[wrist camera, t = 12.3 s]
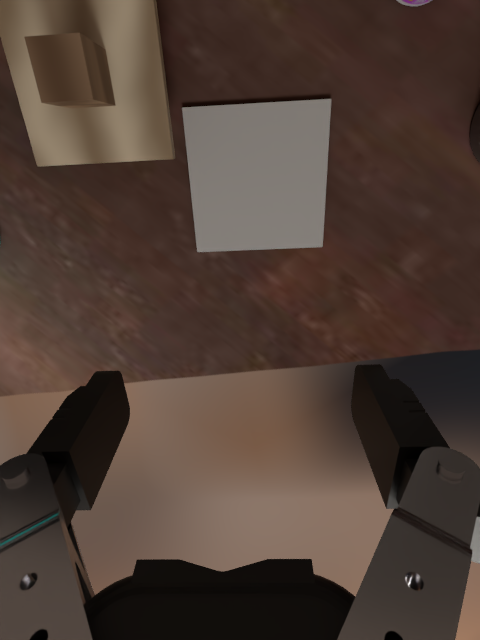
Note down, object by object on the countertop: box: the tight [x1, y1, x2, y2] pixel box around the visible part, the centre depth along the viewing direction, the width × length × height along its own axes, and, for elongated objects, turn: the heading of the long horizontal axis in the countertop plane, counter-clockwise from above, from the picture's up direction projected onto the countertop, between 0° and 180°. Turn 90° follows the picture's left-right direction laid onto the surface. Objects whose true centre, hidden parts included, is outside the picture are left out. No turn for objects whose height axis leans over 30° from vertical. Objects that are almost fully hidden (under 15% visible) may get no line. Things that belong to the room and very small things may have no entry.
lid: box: [0, 0, 175, 166], centre depth 28 cm, size 13×13×6 cm
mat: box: [182, 99, 331, 252], centre depth 39 cm, size 15×15×1 cm
